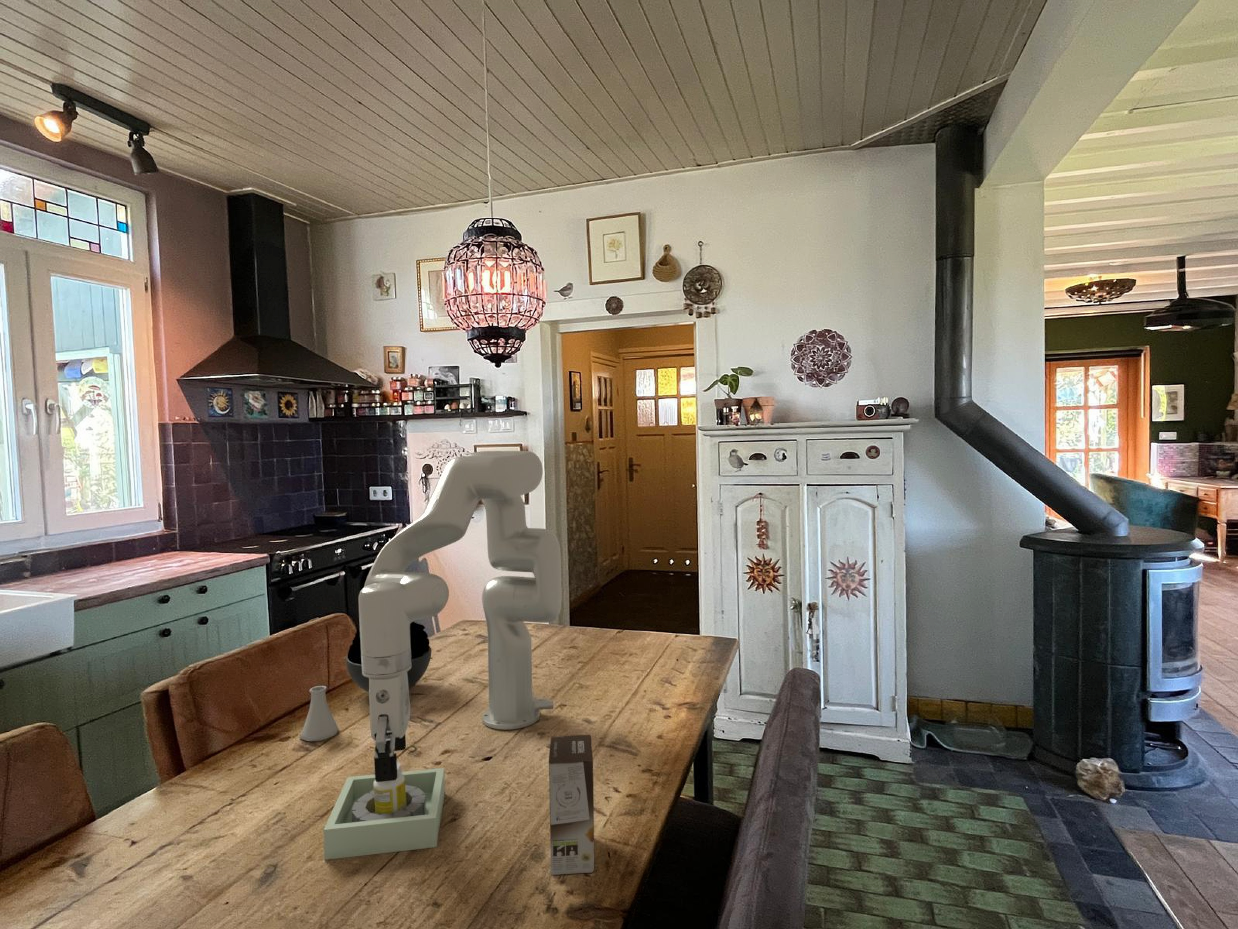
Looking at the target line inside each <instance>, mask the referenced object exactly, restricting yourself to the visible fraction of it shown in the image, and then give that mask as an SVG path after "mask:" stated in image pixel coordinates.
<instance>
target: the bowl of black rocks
mask: <svg viewBox="0 0 1238 929" xmlns="http://www.w3.org/2000/svg"><path fill="white" fill-rule="evenodd" d="M425 629H426V627H425V626H424V625H423V624H421V623H418V622H416V621H414V622H411V623H410V645H411V646H410V647H411V669H410V670H408V671H407V676H408V687H409V689H410V688H412V687H413V686H415V685H416V684H417V683H418V682H419V681H420V680H421V679H422V678H423V676H424V674H426V672H427V669H428V667H429V665H430V661H431V658H432V647H431V646H430V639H429V638H428V635H429V634H428V633H427V632H426V630H425ZM351 642H352V644H351V645H349V649H348V651H347V655H346V656H345V666H346V668H347V669H346V670H347V671H348V674H349V676H350V679H352V682H354V683H355V685H357V686H358V687H359V688H361V690H363V691H365V692H368V693H369V678H368V677H365V676H363V674H362V663H361V641H360V627H359V628H358V629H357V630H356V632H355V635H354V637H353V639H352V641H351Z"/></svg>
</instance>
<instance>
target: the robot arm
mask: <svg viewBox="0 0 1238 929" xmlns="http://www.w3.org/2000/svg"><path fill="white" fill-rule="evenodd" d="M543 469H544V468H543V463H542V461H541V459H540V457H539V456H538V455H537V454H536V453H534V452H533V451H530V450H487V451H486V450H483V451H474V452H472V453H469V454H467V455H465V456H464V455H463V456H458V457H457V456H456V457H454V458H452V459H451V460H449V461H448V462H447V464H446V465H445V466H444V469H443V470H442V472H441V475H440V477H439V479H438V481H437V483H436V485H435V487H434V489H433V491H432V494H430V495H431V496H430V498H429V500H428V502H427V504H426V506H425V508H424V510H423V513H422V514H421V516H420V517H419V518H418V519H416V520H414V521H413V522H411V523H409V524H408V525H407V526H406V527H404V528H403V529H402V530H401V531H399V532H398V533H397V534H396V535H395V536H393V537H392V538H391V539H390V540H389V541H388V542H387V543H386V544H384V546H383V547H382V548H381V550H380V551H379V553H378V554H377V556H376V558H375V560H374V562H373V564H372V566H371V568H370V570H369V572H368V574H367V576H366V580H365V582H364V586H363V588H362V589H361V590H360V591H359V594H358V618H359V619H358V620H359V628H360V641H361V663H362V674H363V676H365V677H368V678H369V692H368V694H369V695H368V697H369V698H368V699H369V704H368V706H369V724H370V737H371V739H372V740H373V741H375V742H374V744H375V745H374V756H373V761H374V762H373V763H374V774H375V781H376V782H383V781H392V780H396V779H397V761H398V760H397V756H398V755H397V753H395V752H398V751H399V752H400V751H404V750H406V747H407V741H406V738H407V737H406V732H407V729H408V725H409V722H410V720H411V719H410V718H411V713H412V712H411V711H412V710H411V702H410V701H411V700H410V691H409V689H410V688H409V687H408V676H407V671H408V670H410V669H411V647H410V646H411V645H410V623H411V622H418V621H423V620H427V619H431V618H433V617H435V616H436V615H439V614H440V613H441V612H442V611H443V610H444V609H445V607H446V606H447V605H448V604H447V603H448V601H449V597H450V596H449V595H450V590H449V585H448V584H447V582H446V581H445V579H444V578H443V577H441V576H439V575H437V574H433V573H430V572H429V573H428V572H413V571H406V569H408V567H409V566H410V565H411V564H412V563H414V562H415V561H416V560H418V559H419V558H421V557H422V556H424V555H427V554H429V553H431V552H434V551H436V550H439V549H442V548H444V547H447V546H449V545H452V544H454V543H456V542H458V541H460V540H462V539H463V537H464V536H465V535H466V533H467V530H468V527H469V525H470V524H471V521H472V518H473V516H474V513H475V511H476V508H477V506H478V504H479V502H480V501H481V502H482V504H483V506H484V510H485V518H486V521H485V522H486V539H487V542H486V544H487V558H488V562H489V564H490V566H491V567H492V568H493V569H495V570H498V571H503V572H504V571H505V572H514V573H515V572H516V573H517V572H518V573H520V572H521V573H532V574H533V577H531V576H530V577H529V576H518V575H517V576H516V575H502V576H501V575H500V576H496V577H493V578H491V579H490V580H488V581H487V582H486V584H485V585H484V587H483V590H482V593H481V594H482V596H481V598H482V599H481V600H482V607H483V612H484V618H485V622H486V631H487V662H488V663H487V664H488V666H487V668H488V670H487V672H488V708H487V709H486V710H485V711H484V712H483V713H482V715H481V720H482V723H483V724H484V725H485V726H487V727H488V728H491V729H496V730H505V731H506V730H507V731H508V730H517V729H522V728H526V727H528V726H530V725H531V726H532V725H533V724H534V723H536V722H537V721H538V720H539V719H540V717H541V713H540V712H541V711H540V710H554V700H553V699H551V700H550V699H549V700H548V697H541V698H540V697H539V698H537V697H535V695H534V692H533V669H532V668H533V665H532V664H533V661H532V660H533V658H532V657H533V655H532V652H533V651H532V647H533V646H532V637H531V633H530V631H529V629H528V627H527V625H526V623H540V624H541V623H544V624H547V623H548V624H549V623H553V621H555V620H557V618H558V617H559V615H560V613H561V610H562V605H563V604H562V602H563V601H562V600H563V589H562V587H563V586H562V557H561V556H562V555H561V545H560V542H559V539H558V537H557V535H556V534H555V533H554V532H553V531H552V530H550V529H547V528H537V527H535V528H534V527H532V528H531V527H528V525H527V519H526V505H525V502H524V500H523V498H522V496H523V495H527V494H530V493H532V492H534V491H535V490H536V489H537V488H538V487H539V485H540V483H541V482H542V479H543V471H544V470H543Z"/></svg>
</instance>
